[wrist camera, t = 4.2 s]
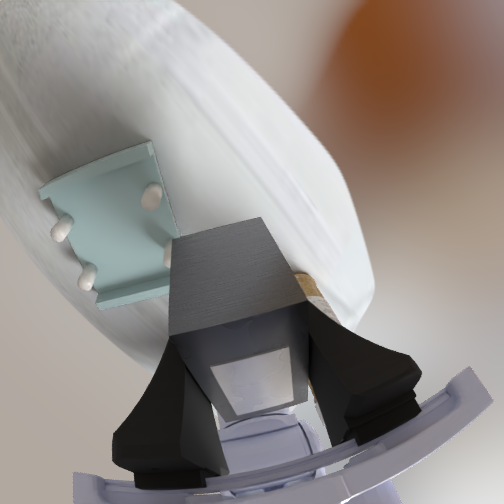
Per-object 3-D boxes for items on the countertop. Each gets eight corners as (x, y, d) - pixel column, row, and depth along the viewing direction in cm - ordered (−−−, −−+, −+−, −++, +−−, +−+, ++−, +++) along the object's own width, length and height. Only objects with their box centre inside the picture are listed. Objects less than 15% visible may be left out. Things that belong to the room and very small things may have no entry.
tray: (193, 272, 22) (194, 294, 20) (104, 295, 21) (98, 317, 19) (151, 140, 16) (144, 147, 14) (49, 181, 15) (32, 194, 13)
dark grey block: (276, 322, 16) (308, 402, 11) (211, 339, 15) (226, 424, 11) (260, 217, 12) (309, 302, 7) (172, 239, 12) (168, 337, 7)
